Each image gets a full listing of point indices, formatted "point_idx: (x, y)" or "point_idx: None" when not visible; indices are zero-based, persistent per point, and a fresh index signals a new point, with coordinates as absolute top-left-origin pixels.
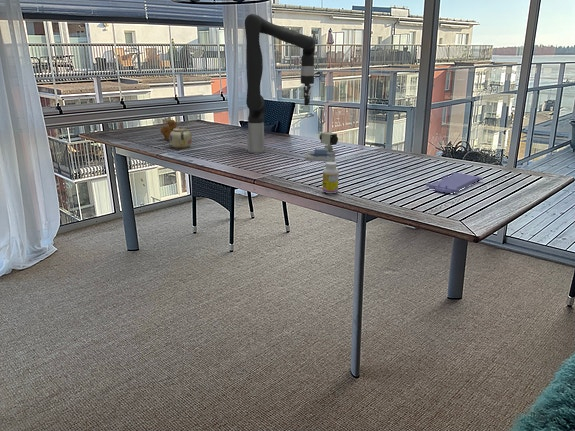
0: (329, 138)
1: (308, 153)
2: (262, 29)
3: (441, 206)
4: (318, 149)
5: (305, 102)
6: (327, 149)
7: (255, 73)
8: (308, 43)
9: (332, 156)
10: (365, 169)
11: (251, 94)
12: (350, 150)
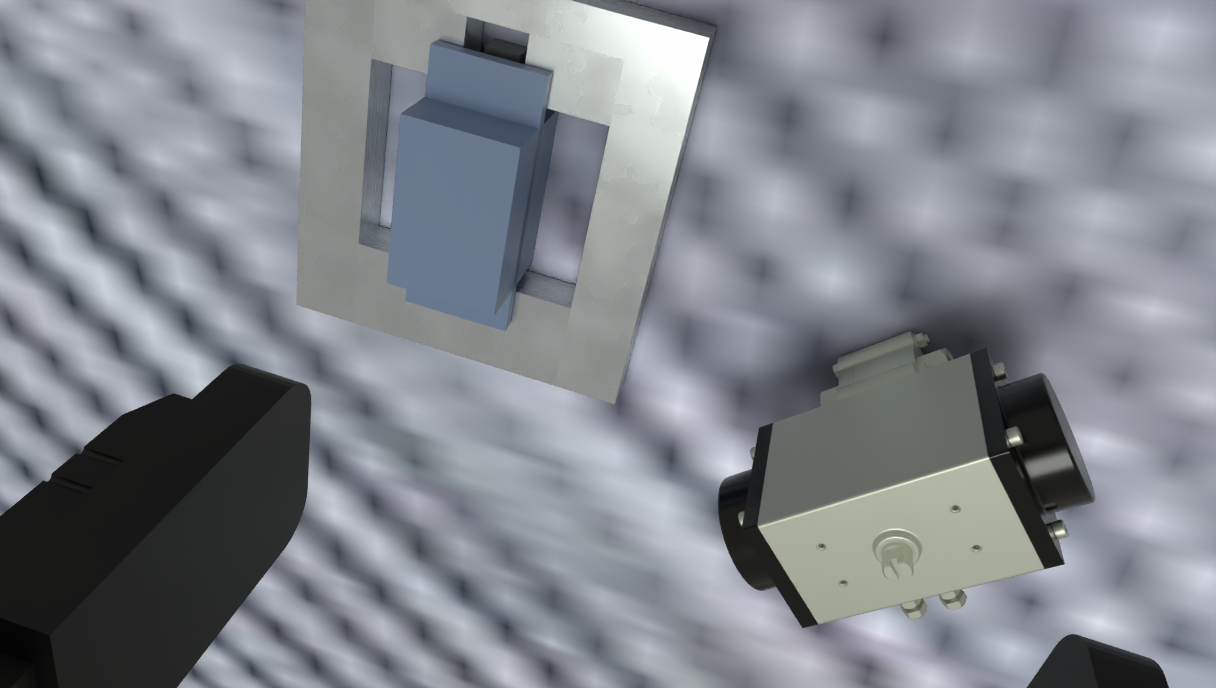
0: (779, 477)
1: (538, 23)
2: None
3: None
4: (432, 181)
5: (84, 476)
6: (856, 370)
7: None
8: None
9: (359, 301)
10: (50, 447)
11: None
12: (894, 620)
